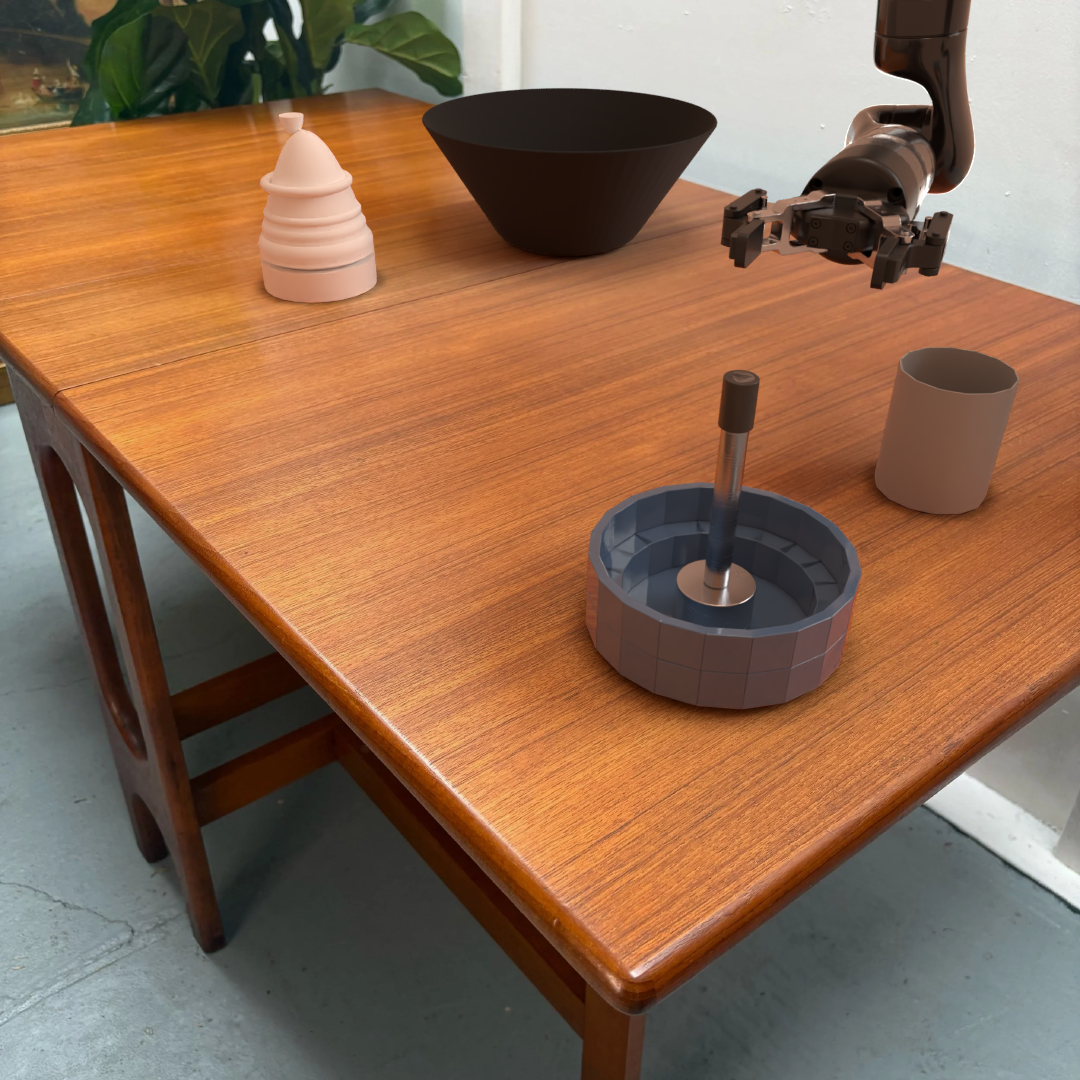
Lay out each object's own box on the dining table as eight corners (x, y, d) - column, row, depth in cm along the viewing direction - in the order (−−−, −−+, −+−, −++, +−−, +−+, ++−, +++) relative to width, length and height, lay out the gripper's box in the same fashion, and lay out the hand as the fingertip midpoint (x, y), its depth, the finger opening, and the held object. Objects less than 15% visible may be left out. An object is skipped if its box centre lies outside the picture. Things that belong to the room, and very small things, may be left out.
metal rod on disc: (747, 598, 67) (783, 360, 58) (753, 646, 63) (792, 399, 54) (672, 593, 68) (694, 356, 58) (672, 641, 64) (697, 395, 54)
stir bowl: (826, 562, 72) (840, 489, 68) (862, 726, 58) (882, 646, 55) (594, 547, 73) (597, 475, 70) (577, 705, 60) (579, 625, 56)
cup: (853, 482, 81) (876, 366, 75) (911, 450, 85) (938, 338, 80) (947, 526, 76) (981, 405, 70) (1005, 490, 80) (1041, 373, 74)
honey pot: (243, 282, 118) (215, 117, 108) (334, 256, 126) (316, 100, 115) (306, 311, 111) (283, 137, 100) (399, 282, 118) (387, 117, 108)
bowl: (738, 220, 139) (751, 102, 130) (650, 307, 112) (660, 166, 103) (505, 188, 151) (503, 79, 142) (375, 260, 124) (364, 131, 116)
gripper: (776, 133, 75) (702, 186, 63) (980, 154, 69) (942, 216, 57) (764, 235, 79) (692, 302, 67) (955, 261, 74) (915, 340, 62)
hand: (807, 262), depth 62 cm, fingers open, 8 cm apart
